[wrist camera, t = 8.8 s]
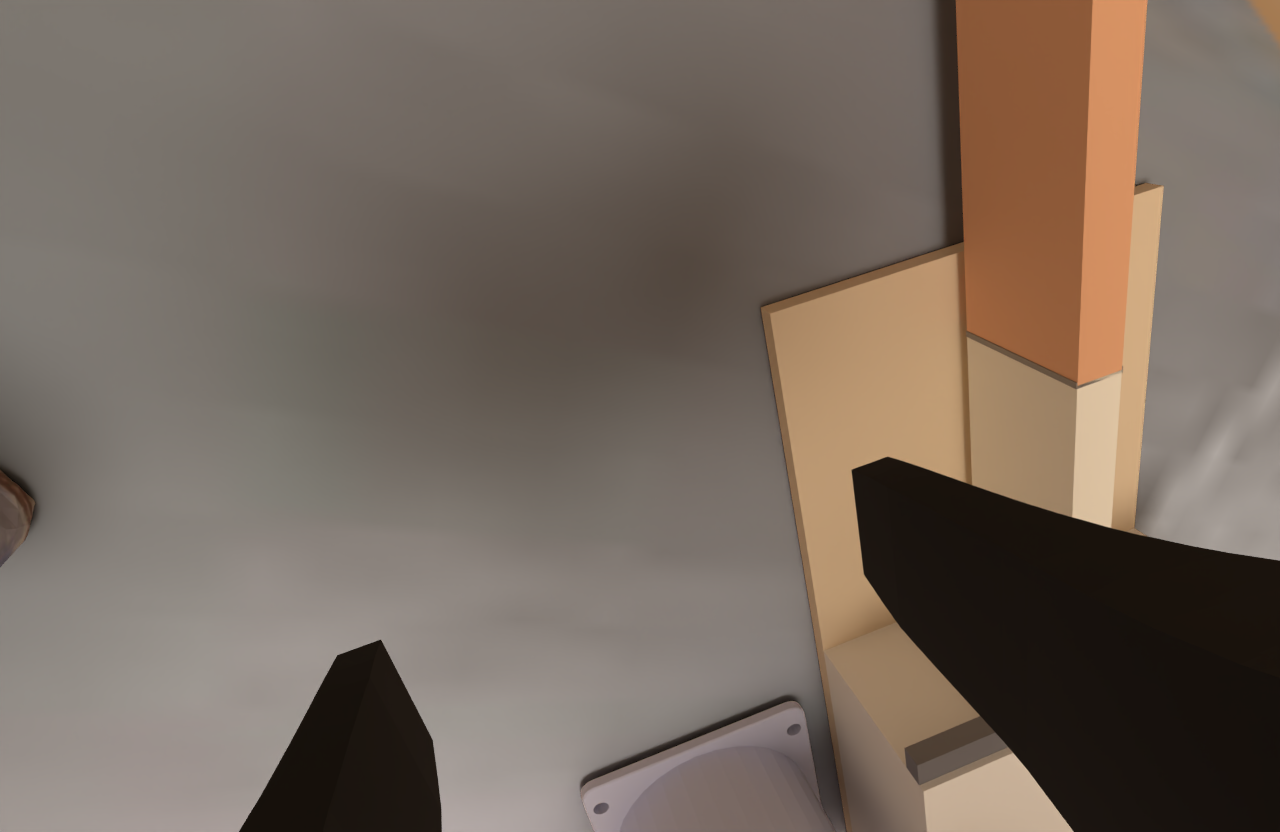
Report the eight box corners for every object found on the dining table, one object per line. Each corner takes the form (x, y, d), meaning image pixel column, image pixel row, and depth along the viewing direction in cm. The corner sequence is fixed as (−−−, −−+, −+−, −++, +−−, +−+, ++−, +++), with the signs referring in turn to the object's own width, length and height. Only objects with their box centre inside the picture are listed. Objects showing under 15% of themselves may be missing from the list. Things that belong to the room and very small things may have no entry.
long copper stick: (1007, 546, 25) (1105, 624, 22) (973, 559, 25) (1066, 640, 21) (1001, -213, 16) (1168, -292, 12) (947, -200, 16) (1101, -276, 12)
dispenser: (1104, 728, 33) (1244, 861, 27) (847, 839, 31) (942, 1005, 25) (1145, 183, 22) (1387, 220, 17) (760, 307, 20) (888, 394, 15)
